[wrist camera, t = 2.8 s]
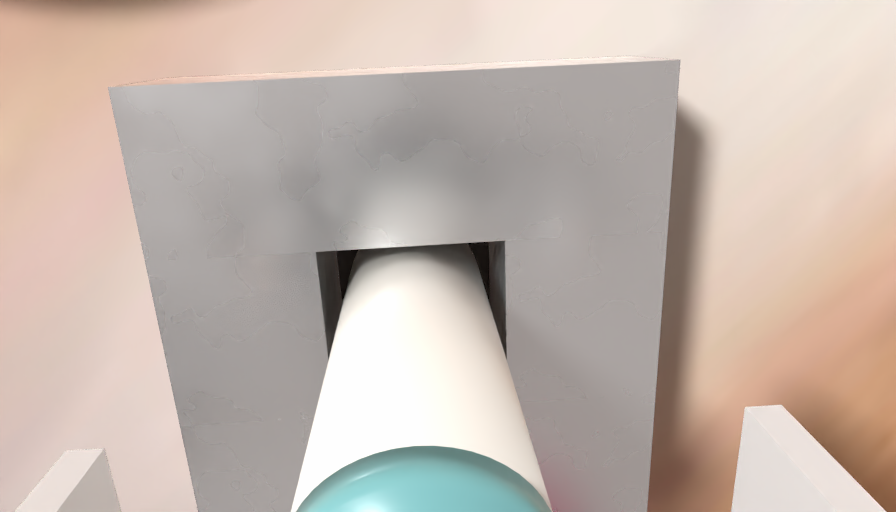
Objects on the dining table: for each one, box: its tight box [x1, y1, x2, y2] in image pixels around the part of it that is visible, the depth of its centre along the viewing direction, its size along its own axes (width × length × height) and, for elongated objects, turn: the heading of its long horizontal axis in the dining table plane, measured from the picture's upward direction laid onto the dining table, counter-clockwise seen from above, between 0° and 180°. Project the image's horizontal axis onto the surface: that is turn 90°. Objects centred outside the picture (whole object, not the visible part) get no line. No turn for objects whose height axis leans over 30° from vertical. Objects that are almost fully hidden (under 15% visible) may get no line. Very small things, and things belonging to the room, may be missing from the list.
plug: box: [291, 243, 553, 512], centre depth 17 cm, size 5×5×15 cm
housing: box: [108, 56, 680, 512], centre depth 22 cm, size 16×16×4 cm
